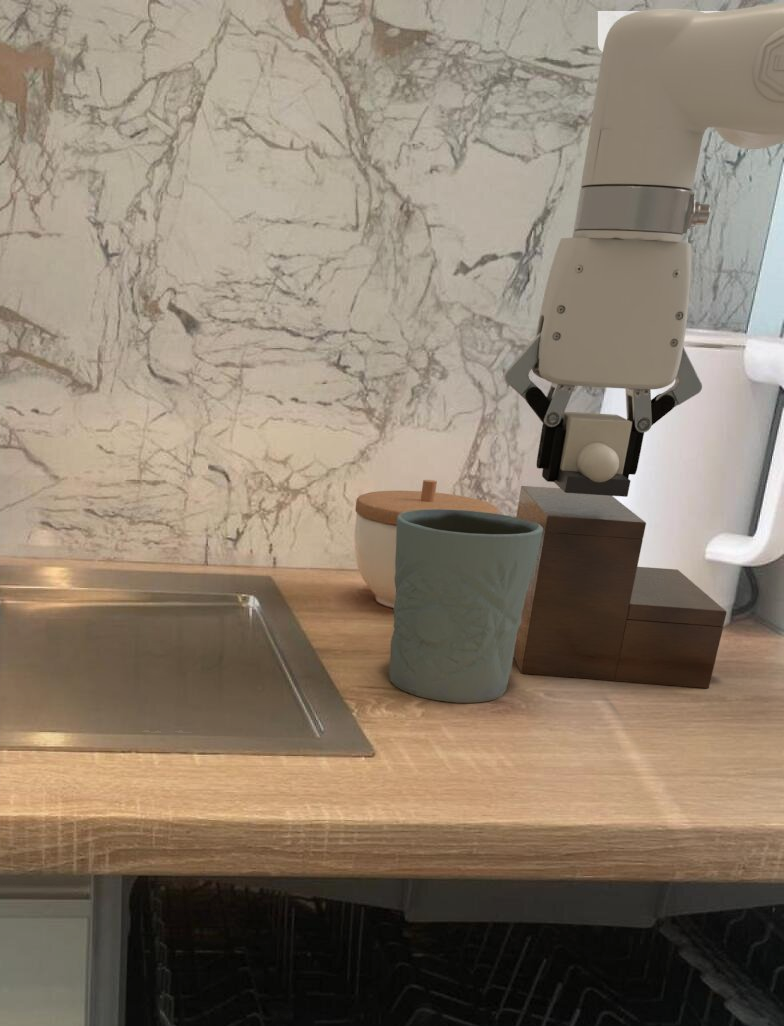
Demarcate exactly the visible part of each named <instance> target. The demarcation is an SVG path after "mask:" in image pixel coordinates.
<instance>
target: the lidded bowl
mask: <svg viewBox="0 0 784 1026" xmlns="http://www.w3.org/2000/svg"><path fill="white" fill-rule="evenodd" d="M437 484H438V481H437V480H435V479H423V480H422V487H421V490H379V491H371V492H366V493H363V494H360V495H358V497H357V498H356V500H355V512H356V516H355V525H354V554H355V561H356V565H357V569H358V572H359V574H360V576H361V578H362V581H364V583H365V584H366V586H367V588H368V589H369V590H370V591H371V592H372V593H373V594H374V595H375V601H376V602H377V603H379V604H380V605H382V606H386V607H388V608H391V609H394V604H395V596H396V587H395V580H394V577H395V558H396V532H397V516H398V515H399V514H401V513H404V512H408V511H414V510H429V509H449V510H467V511H476V512H485V513H493V514H500V512H499V511H500V510H499V509H498V507H497V506H496V505H494V504H492V503H490V502H487V501H484V500H481V499H477V498H473V497H468V496H463V495H459V494H450V493H443V492H436V490H437Z"/></svg>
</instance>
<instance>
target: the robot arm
mask: <svg viewBox="0 0 784 1026" xmlns="http://www.w3.org/2000/svg"><path fill="white" fill-rule="evenodd" d="M600 59H601V60H600V66H599V72H598V77H597V84H596V91H595V96H594V102H593V108H592V114H591V121H590V128H589V133H588V139H587V144H586V145H587V146H586V150H585V151H586V152H585V159H584V164H583V170H582V175H581V182H580V189H579V196H578V201H577V207H576V213H575V220H574V226H573V233H572V237H562V238H560V240H559V242H558V245H557V248H556V250H555V253H554V257H553V260H552V264H551V266H550V269H549V274H548V278H547V281H546V285H545V290H544V293H543V297H542V302H541V306H540V312H539V317H538V321H537V326H536V331H535V336H534V338H533V339H532V341H530V342H529V344H528V345H527V346H526V347H525V348H524V350H522V352H521V353H520V354H519V355H518V356H517V357H516V359H515V360H513V362H512V363H511V364H510V365H509V366H508V367H507V369H505V371H504V372H503V376H502V378H503V380H504V382H505V383H506V384H507V385H508V386H509V387H510V388H512V389H513V390H514V391H515V392H516V393H517V394H518V395H520V396H521V398H523V400H525V402H526V403H527V404H528V406H529V407H530V409H532V411H533V412H534V414H535V415H536V416H537V417H538V419H539V420H540V422H541V423H542V425H541V427H542V428H541V433H540V440H539V445H538V451H537V457H536V468H537V469H542V472H541V476H542V478H543V479H544V480H545V481H546V482H549V483H554V482H555V480H557V478H558V473H559V469H560V464H561V458H562V452H563V446H564V440H565V434H566V429H564V428H563V427H562V426H563V420H564V419H563V418H562V416H563V414H564V412H566V409H567V406H568V403H569V401H570V399H571V397H572V395H573V392H574V389H575V387H590V388H591V387H592V388H608V389H610V388H611V389H625V408H626V409H625V410H626V419H627V420H629V421H631V422H632V427H631V432H630V437H629V442H628V447H627V453H626V458H625V463H624V468H623V474H622V475H623V476H625V477H626V478H628V479H629V477H630V475H631V476H634V475H636V473H637V470H638V467H639V462H640V457H641V451H642V446H643V441H644V436H645V433H647V432H648V431H649V430H650V429H651V428H652V426H653V425H655V424H656V423H657V422H658V421H660V420H661V419H662V418H663V417H664V416H666V415H667V414H669V413H670V412H671V411H672V410H673V409H674V408H676V407H677V406H679V405H682V404H683V403H685V402H687V401H688V400H690V399H692V398H693V397H695V396H696V395H699V393H701V391H702V389H703V383H702V382H701V379H700V377H699V376H698V373H697V370H695V367H694V365H693V363H692V361H691V359H690V357H689V354H688V352H687V351H686V349H685V347H684V344H685V338H686V330H687V323H688V322H687V321H688V314H689V303H690V293H691V280H692V243H690V242H683V239H684V235H686V234H687V233H688V230H689V229H690V228H692V227H693V228H694V227H695V226H706V225H707V223H708V222H709V217H710V213H711V205H710V204H709V203H707V204H705V203H704V204H702V203H700V201H696V198H695V194H696V193H695V192H692V191H693V188H694V183H695V178H696V172H697V168H698V164H699V163H698V162H699V158H700V153H701V147H702V142H703V137H704V136H705V135H704V134H705V131H706V130H707V129H708V128H713V129H714V130H715V131H716V132H717V134H718V135H719V137H721V138H722V139H723V140H724V141H726V142H727V143H728V144H731V145H733V147H734V146H735V147H737V148H741V149H745V150H761V149H766V148H770V147H774V146H776V145H779V144H781V143H783V142H784V1H779V2H773V3H768V4H762V5H757V6H756V5H755V6H749V7H743V8H737V9H729V10H721V11H713V12H711V11H710V12H704V11H700V10H695V9H688V8H687V9H686V8H656V9H655V8H654V9H644V10H639V11H635V12H631V13H628V14H626V15H624V16H621V17H620V18H619V19H617V20H615V22H614V23H613V24H612V25H611V27H610V28H609V30H608V32H607V34H606V37H605V39H604V44H603V49H602V53H601V58H600ZM531 371H532V372H533V374H534V375H535V376H537V377H538V378H541V379H543V380H545V381H547V382H549V383H551V384H550V386H549V389H548V391H547V392H546V393H547V394H545V392H543V390H542V389H541V388H539V386H537V385H536V384H535V383H534V382H533V381H532V380H531V379H530V375H529V374H530V372H531ZM672 384H673V385H672ZM670 385H672V386H671V387H669V388H668V389H666V390H665V391H663V392H662V393H658V394H657V395H656V396H654V397H653V398H652V394H651V393H652V392H651V390H659V389H663V388H666V387H668V386H670Z"/></svg>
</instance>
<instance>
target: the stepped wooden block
mask: <svg viewBox="0 0 784 1026" xmlns="http://www.w3.org/2000/svg"><path fill="white" fill-rule="evenodd" d="M515 517H516V518H521V519H525V520H529V521H532V522H535V523H537V524H539V525H540V526H542V528H543V533H542V537H541V541H540V545H539V550H538V554H537V558H536V562H535V566H534V570H533V574H532V577H531V580H530V583H529V587H528V590H527V593H526V597H525V602H524V607H523V610H522V614H521V624H520V627H519V629H518V631H517V636H516V642H515V649H514V656H513V660H514V661H515V663H516V665H517V668H518V669H519V672H520V674H523V675H525V674H526V675H536V676H549V677H562V678H572V679H573V678H574V679H587V680H599V681H610V682H611V681H613V682H614V681H615V682H624V683H636V684H637V683H638V684H648V685H663V686H671V687H672V686H674V687H687V688H697V689H709V688H710V685H711V680H712V677H713V673H714V667H715V663H716V660H717V655H718V651H719V647H720V643H721V638H722V635H723V634H722V633H723V630H724V625H725V620H726V617H727V613H728V612H727V610H726V609H724V608H723V607H722V606H721V605H720V604H719V603H718V602H717V601H715V600H714V599H713V598H712V597H710V596H709V595H708V594H707V593H706V592H704V590H703V589H702V588H700V587H699V586H697V585H696V583H694V582H693V581H692V580H691V579H689V578H688V577H687V576H686V575H685V574H684V573H682V572H681V570H679V569H676V568H675V569H674V568H663V567H649V566H646V567H645V566H639V561H640V555H641V550H642V546H643V539H644V536H645V531H646V526H647V522H646V521H644V520H643V519H642V518H641V517H640V516H638V515H637V514H636V513H635V512H633V510H631V509H629V507H627V506H626V505H624V503H622V502H621V501H619V500H618V499H617V498H615V496H608V495H593V494H578V493H565V492H564V491H563V490H562V489H561V488H560V487H545V486H531V485H530V486H529V485H521V486H520V491H519V497H518V503H517V510H516V516H515Z"/></svg>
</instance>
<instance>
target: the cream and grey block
mask: <svg viewBox="0 0 784 1026" xmlns="http://www.w3.org/2000/svg"><path fill="white" fill-rule="evenodd" d="M562 418H563V419H564V420H563V426H562V427H563V428H564V429H566V434H565V440H564V446H563V452H562V458H561V464H560V469H559V473H558V478H557V480H555V482H553V483H554V484H555V485H556V486H558V488H561V489H562V490H563V491H564V492H565V493H578V494H593V495H608V496H613V497H624V498H625V497H626V498H627V497H628V496H629V491H630V486H631V479H629V478H626V477H625V476H623V475H622V474H623V468H624V463H625V458H626V453H627V447H628V442H629V437H630V432H631V427H632V422H631V421H629V420H627V418H625V417H623V416H620V415H618V414H611V413H596V412H581V411H580V412H579V411H578V412H577V411H564V414H563V416H562Z"/></svg>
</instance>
